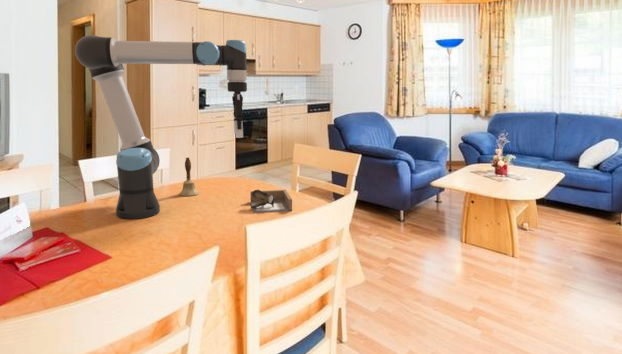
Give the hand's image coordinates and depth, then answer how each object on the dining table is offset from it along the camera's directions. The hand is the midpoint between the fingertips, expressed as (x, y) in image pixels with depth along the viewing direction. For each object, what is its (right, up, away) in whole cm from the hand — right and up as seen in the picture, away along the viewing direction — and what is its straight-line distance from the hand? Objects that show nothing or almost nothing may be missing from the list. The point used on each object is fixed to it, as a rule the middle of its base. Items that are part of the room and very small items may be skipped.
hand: (238, 135), depth 175 cm
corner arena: (+13, -28, -3) cm, 31 cm away
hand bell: (-24, -24, +14) cm, 37 cm away
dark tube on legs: (+11, -28, -6) cm, 31 cm away
